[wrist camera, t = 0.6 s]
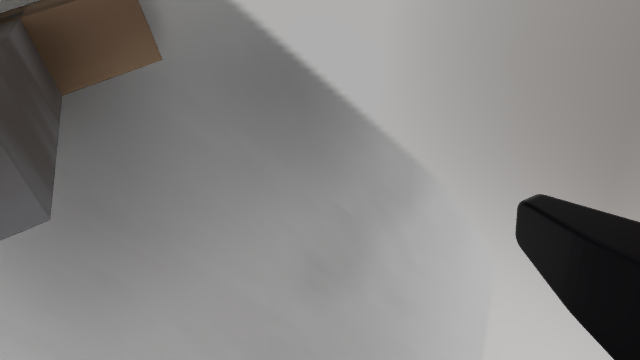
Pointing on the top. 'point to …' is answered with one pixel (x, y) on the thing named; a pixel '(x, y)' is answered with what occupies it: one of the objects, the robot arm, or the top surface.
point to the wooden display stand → (55, 88)
